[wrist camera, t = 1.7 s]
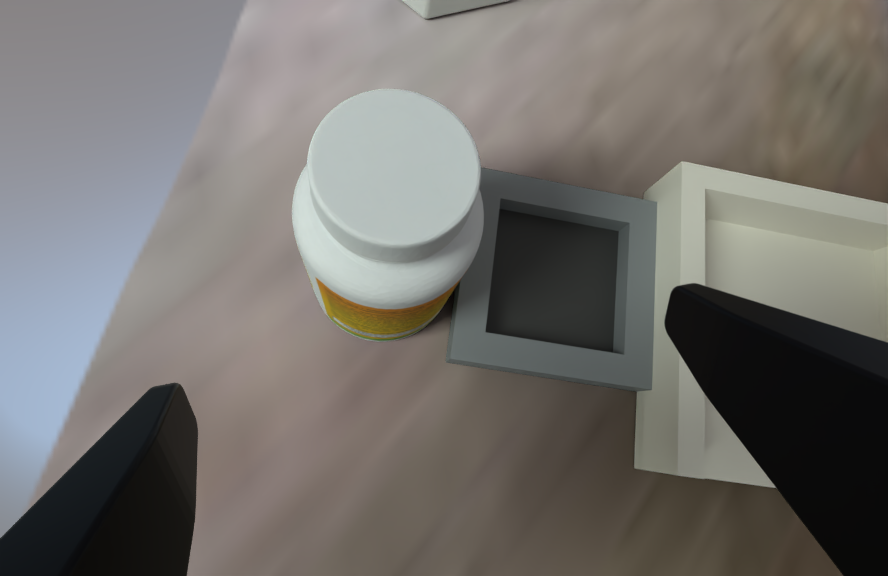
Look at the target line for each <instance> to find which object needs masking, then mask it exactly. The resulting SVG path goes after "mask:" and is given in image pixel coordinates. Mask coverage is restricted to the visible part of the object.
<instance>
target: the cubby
mask: <svg viewBox="0 0 888 576" xmlns="http://www.w3.org/2000/svg"><path fill="white" fill-rule="evenodd" d="M644 200H649V201H655V202H657V231H656V268H655V305H654V342H653V378H652V390H648V391H639V392H637V399H636V428H635V457H634V468H635V469H641V470H647V471H653V472H659V473H665V474H671V475H677V476H685V477H692V478H699V479H705V478H707V479H714V480H721V481H729V482H736V483H743V484H751V485H758V486H765V487H772V488H776V487H775V486H774V484H773V483H772V482H771V480H770V479H769V478H768V477H767V475H766V474H765V473H764V471H763V470H762V469H761V467H760V466H759V465H758V464H757V462H756V461H755V460H754V458H753V457H752V456H751V454H750V453H749V452H748V450H747V449H746V448H745V447H744V445H743V444H742V443H741V441H740V440H739V439H738V437H737V436H736V435H735V434H734V432H733V431H732V430H731V428H730V427H729V426H728V424H727V423H726V422H725V420H724V419H723V418H722V417H721V415H720V414H719V413H718V411H717V410H716V409H715V407H714V406H713V405H712V403H711V402H710V401H709V399H708V398H707V397H706V395H705V394H704V392H703V391H702V389H701V388H700V386H699V385H698V383H697V381H696V380H695V378H694V376H693V375H692V373H691V372H690V370H689V368H688V367H687V365H686V363H685V362H684V360H683V359H682V357H681V355H680V354H679V352H678V350H677V349H676V347H675V346H674V344H673V342H672V341H671V339H670V338H669V336H668V334H667V332H666V329H665V325H664V320H665V315H666V311H667V306H668V302H669V297H670V293H671V291H672V289H673V288H674V287H676V286H679V285H684V284H689V283H697V284H700V285H704V286H707V287H710V288H713V289H717V290H720V291H723V292H726V293H730V294H733V295H736V296H739V297H742V298H746V299H749V300H752V301H755V302H759V303H762V304H765V305H768V306H772V307H775V308H778V309H781V310H785V311H788V312H791V313H794V314H797V315H801V316H804V317H807V318H810V319H814V320H817V321H820V322H823V323H827V324H830V325H833V326H836V327H839V328H843V329H846V330H849V331H852V332H856V333H859V334H862V335H865V336H869V337H872V338H875V339H878V340H881V341H885V342H888V204H887V203H882V202H877V201H872V200H867V199H863V198H858V197H853V196H848V195H843V194H838V193H834V192H829V191H824V190H819V189H814V188H809V187H805V186H800V185H795V184H790V183H785V182H780V181H775V180H771V179H766V178H761V177H756V176H751V175H746V174H742V173H737V172H732V171H727V170H722V169H717V168H713V167H708V166H703V165H698V164H693V163H688V162H683V161H682V162H680V163H679V164H678V165H677V166H676V167H674V168H673V169H672V170H671V171H669V172H668V173H667V174H666V175H665V176H663V177H662V178H661V179H660V180H658V181H657V182H656V183H655V184H654V185H652V186H651V187H650V188H649V189H648V190H646V191H645V192H644Z"/></svg>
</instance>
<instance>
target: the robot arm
mask: <svg viewBox="0 0 888 576" xmlns="http://www.w3.org/2000/svg"><path fill="white" fill-rule="evenodd" d="M664 325H665V329H666V332H667V334H668V336H669V338H670V339H671V341H672V342H673V344H674V346H675V347H676V349H677V350H678V352H679V354H680V355H681V357H682V359H683V360H684V362H685V363H686V365H687V367H688V368H689V370H690V372H691V373H692V375H693V376H694V378H695V380H696V381H697V383H698V385H699V386H700V388H701V389H702V391H703V392H704V394H705V395H706V397H707V398H708V399H709V401H710V402H711V403H712V405H713V406H714V407H715V409H716V410H717V411H718V413H719V414H720V415H721V417H722V418H723V419H724V420H725V422H726V423H727V424H728V426H729V427H730V428H731V430H732V431H733V432H734V434H735V435H736V436H737V437H738V439H739V440H740V441H741V443H742V444H743V445H744V447H745V448H746V449H747V450H748V452H749V453H750V454H751V456H752V457H753V458H754V460H755V461H756V462H757V464H758V465H759V466H760V467H761V469H762V470H763V471H764V473H765V474H766V475H767V477H768V478H769V479H770V480H771V482H772V483H773V484H774V486H775V487H776V488H777V490H778V491H779V492H780V494H781V495H782V496H783V497H784V499H785V500H786V501H787V503H788V504H789V505H790V507H791V508H792V509H793V510H794V512H795V513H796V514H797V516H798V517H799V518H800V520H801V521H802V522H803V524H804V525H805V526H806V527H807V529H808V530H809V531H810V533H811V534H812V535H813V537H814V538H815V539H816V540H817V542H818V543H819V544H820V546H821V547H822V548H823V550H824V551H825V552H826V553H827V555H828V556H829V557H830V559H831V560H832V561H833V563H834V564H835V565H836V567H837V568H838V569H839V570H840V572H841V573H842V574H843V576H888V342H885V341H881V340H878V339H875V338H872V337H869V336H865V335H862V334H859V333H856V332H852V331H849V330H846V329H843V328H839V327H836V326H833V325H830V324H827V323H823V322H820V321H817V320H814V319H810V318H807V317H804V316H801V315H797V314H794V313H791V312H788V311H785V310H781V309H778V308H775V307H772V306H768V305H765V304H762V303H759V302H755V301H752V300H749V299H746V298H742V297H739V296H736V295H733V294H730V293H726V292H723V291H720V290H717V289H713V288H710V287H707V286H704V285H700V284H697V283H689V284H684V285H679V286H676V287H674V288H673V289H672V291H671V293H670V297H669V302H668V306H667V311H666V315H665V320H664ZM197 444H198V428H197V422H196V418H195V415H194V413H193V411H192V408H191V406H190V403H189V401H188V399H187V396H186V394H185V391H184V389H183V387H182V386H181V385H180V384H178V383H170V384H165V385H160V386H155V387H152V388H150V389H149V390H148V391H147V392H146V393H145V394H144V395H143V396H142V397H141V398H140V399H139V400H138V401H137V402H136V403H135V404H134V405H133V406H132V407H131V408H130V409H129V410H128V411H127V412H126V413H125V414H124V415H123V416H122V417H121V418H120V419H119V420H118V421H117V422H116V423H115V424H114V425H113V426H112V427H111V428H110V429H109V430H108V431H107V432H106V433H105V434H104V435H103V436H102V437H101V438H100V439H99V440H98V441H97V442H96V443H95V444H94V445H93V446H92V447H91V448H90V449H89V450H88V451H87V452H86V453H85V454H84V455H83V456H82V457H81V458H80V459H79V460H78V461H77V462H76V463H75V464H74V465H73V466H72V467H71V468H70V469H69V470H68V471H67V472H66V473H65V474H64V475H63V476H62V477H61V478H60V479H59V480H58V481H57V482H56V483H55V484H54V485H53V486H52V487H51V488H50V489H49V490H48V491H47V492H46V493H45V494H44V495H43V496H42V497H41V498H40V499H39V500H38V501H37V502H36V503H35V504H34V505H33V506H32V507H31V508H30V509H29V510H28V511H27V512H26V513H25V514H24V515H23V516H22V517H21V518H20V519H19V520H18V521H17V522H16V523H15V524H14V525H13V526H12V527H11V528H10V529H9V530H8V531H7V532H6V533H5V534H4V535H3V536H2V537H1V538H0V576H187V570H188V563H189V557H190V550H191V544H192V537H193V530H194V522H195V509H196V479H197Z"/></svg>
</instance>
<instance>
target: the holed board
mask: <svg viewBox="0 0 888 576" xmlns="http://www.w3.org/2000/svg"><path fill="white" fill-rule="evenodd" d="M479 190H480V193H481V197H482V201H483V209H484V226H483V233H482V237H481V241H480V245H479V248H478V250H477V253H476V255H475V257H474V259H473V261H472V263H471V265H470V267H469V268H468V270H467V271H466V273H465V274H464V275H463V277H462V278H461V280H460V281H459V283H458V284H457V286H456V287H455V295H454V302H453V310H452V317H451V325H450V332H449V340H448V347H447V355H446V362H447V363H453V364H460V365H466V366H473V367H479V368H486V369H492V370H499V371H505V372H512V373H518V374H525V375H531V376H538V377H544V378H551V379H557V380H564V381H570V382H577V383H583V384H590V385H596V386H603V387H609V388H616V389H622V390H629V391H635V392H639V391H648V390H652V378H653V342H654V305H655V268H656V231H657V202H655V201H649V200H644V199H639V198H634V197H629V196H624V195H619V194H614V193H609V192H604V191H599V190H593V189H588V188H583V187H578V186H573V185H568V184H563V183H558V182H553V181H548V180H543V179H537V178H532V177H527V176H522V175H517V174H512V173H507V172H502V171H497V170H492V169H486V168H481V182H480V188H479Z"/></svg>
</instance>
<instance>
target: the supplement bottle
mask: <svg viewBox="0 0 888 576" xmlns="http://www.w3.org/2000/svg"><path fill="white" fill-rule="evenodd" d="M480 182H481V165H480V158H479V154H478V150H477V147H476V144H475V142H474V140H473V138H472V136H471V134H470V132H469V131H468V129H467V128H466V126H465V125H464V124H463V123H462V121H461V120H460V119H459V118H458V117H457V116H456V115H455V114H454V113H453V112H451V111H450V110H449V109H448V108H446V107H445V106H444V105H442V104H441V103H439V102H437V101H436V100H434V99H432V98H430V97H427V96H425V95H422V94H420V93H416V92H412V91H408V90H400V89H377V90H372V91H367V92H364V93H361V94H358V95H355V96H353V97H350V98H349V99H347V100H345V101H343V102H342V103H340V104H339V105H337V106H336V107H335V108H334V109H333V110H332V111H330V112H329V113H328V114H327V115H326V117H325V118H324V119H323V120H322V121H321V123H320V124H319V126H318V127H317V129H316V131H315V133H314V135H313V138H312V140H311V144H310V147H309V151H308V158H307V164H306V166H305V168H304V169H303V171H302V173H301V175H300V177H299V179H298V182H297V185H296V188H295V191H294V197H293V204H292V221H293V228H294V234H295V239H296V242H297V246H298V249H299V252H300V254H301V257H302V260H303V262H304V265H305V268H306V271H307V273H308V276H309V279H310V282H311V285H312V287H313V290H314V293H315V295H316V297H317V299H318V301H319V303H320V305H321V307H322V309H323V310H324V312H325V313H326V315H327V316H328V317H329V318H330V319H331V320H332V321H333V322H334V323H335V324H336V325H337V326H338V327H340V328H341V329H343V330H344V331H346V332H347V333H349V334H351V335H353V336H356V337H358V338H361V339H364V340H369V341H377V342H387V341H394V340H399V339H403V338H406V337H408V336H411V335H413V334H415V333H417V332H418V331H420V330H421V329H423V328H424V327H426V326H427V325H428V324H429V323H430V322H431V321H432V320H433V319H434V318H435V317H436V316H437V314H438V313H439V312H440V310H441V309H442V307H443V306H444V304H445V303H446V301H447V300H448V298H449V296H450V295H451V293H452V292H453V290H454V289H455V287H456V286H457V284H458V283H459V281H460V280H461V278H462V277H463V275H464V274H465V273H466V271H467V270H468V268H469V267H470V265H471V263H472V261H473V259H474V257H475V255H476V253H477V250H478V248H479V245H480V241H481V237H482V233H483V226H484V209H483V201H482V197H481V193H480V190H479V188H480Z"/></svg>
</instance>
